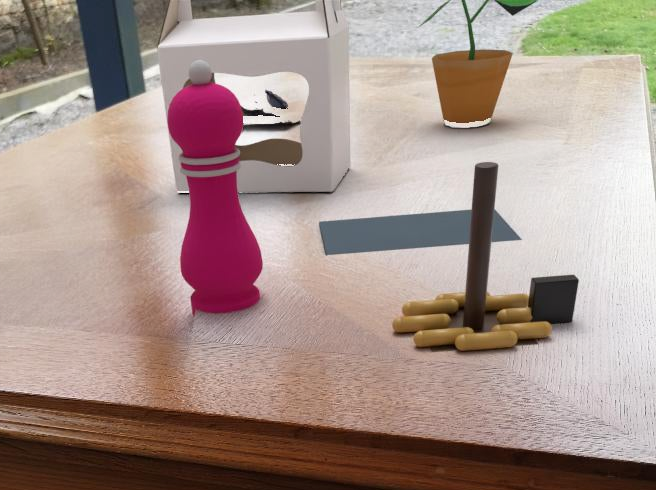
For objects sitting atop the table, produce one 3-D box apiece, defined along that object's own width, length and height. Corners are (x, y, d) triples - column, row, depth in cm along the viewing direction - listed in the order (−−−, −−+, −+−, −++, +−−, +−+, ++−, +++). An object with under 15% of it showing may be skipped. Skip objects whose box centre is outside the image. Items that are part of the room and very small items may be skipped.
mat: (493, 212, 89) (493, 207, 89) (539, 264, 75) (539, 259, 75) (319, 225, 90) (319, 221, 90) (331, 280, 76) (331, 275, 75)
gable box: (352, 168, 111) (349, -78, 95) (335, 193, 101) (328, -77, 85) (205, 170, 117) (178, -62, 100) (174, 194, 106) (139, -59, 90)
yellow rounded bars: (551, 297, 65) (557, 256, 63) (590, 343, 58) (598, 299, 56) (384, 309, 66) (384, 270, 64) (401, 357, 58) (402, 314, 56)
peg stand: (509, 317, 65) (528, 147, 58) (536, 358, 59) (562, 173, 51) (413, 324, 66) (419, 156, 58) (430, 366, 59) (440, 183, 51)
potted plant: (403, 137, 125) (409, -100, 108) (423, 114, 139) (432, -99, 122) (518, 136, 120) (544, -113, 102) (527, 112, 134) (552, -111, 116)
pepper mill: (250, 291, 75) (228, 50, 63) (278, 317, 69) (259, 58, 57) (178, 306, 73) (141, 61, 61) (200, 334, 67) (164, 70, 56)
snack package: (270, 117, 148) (222, 127, 142) (272, 80, 144) (223, 88, 138) (313, 135, 142) (265, 146, 136) (317, 97, 138) (267, 106, 132)
